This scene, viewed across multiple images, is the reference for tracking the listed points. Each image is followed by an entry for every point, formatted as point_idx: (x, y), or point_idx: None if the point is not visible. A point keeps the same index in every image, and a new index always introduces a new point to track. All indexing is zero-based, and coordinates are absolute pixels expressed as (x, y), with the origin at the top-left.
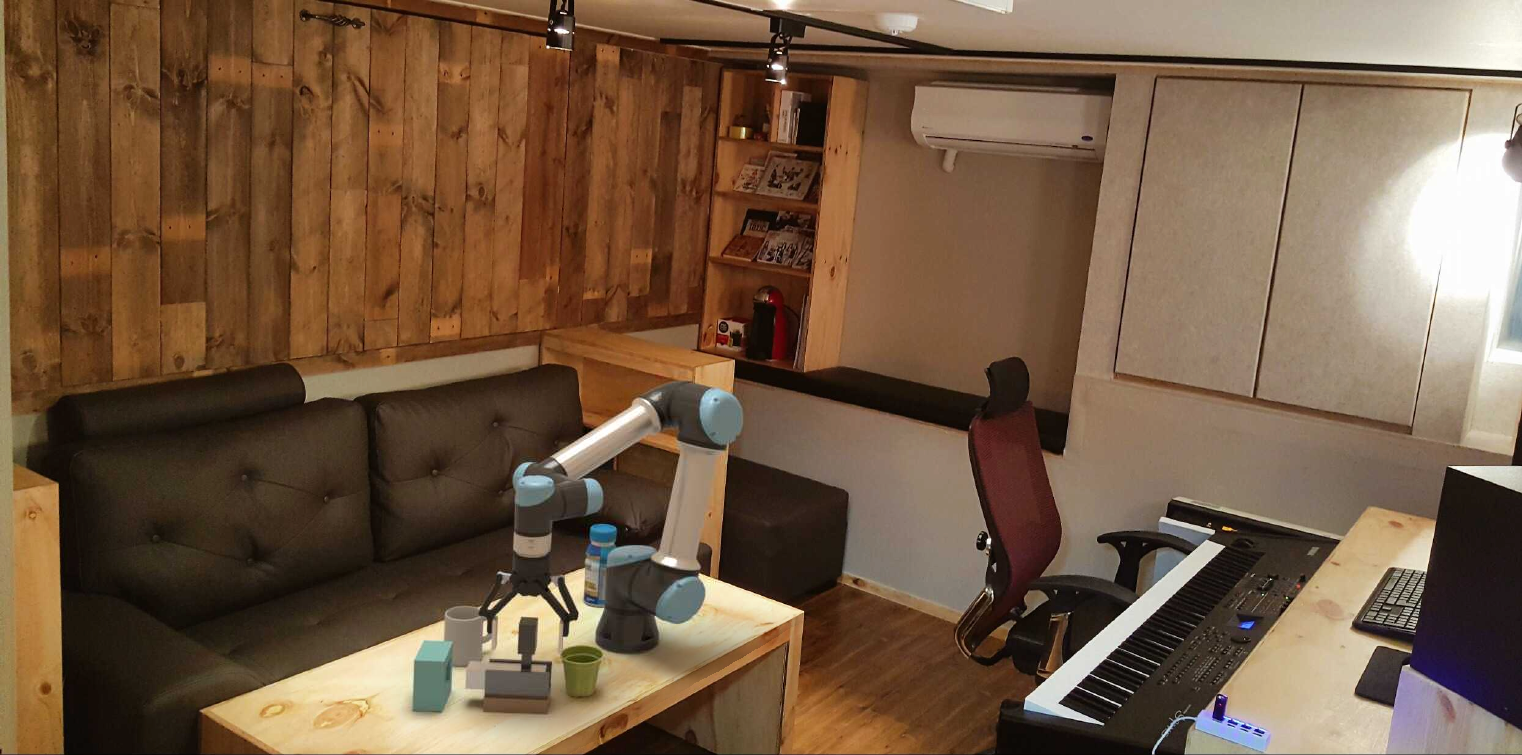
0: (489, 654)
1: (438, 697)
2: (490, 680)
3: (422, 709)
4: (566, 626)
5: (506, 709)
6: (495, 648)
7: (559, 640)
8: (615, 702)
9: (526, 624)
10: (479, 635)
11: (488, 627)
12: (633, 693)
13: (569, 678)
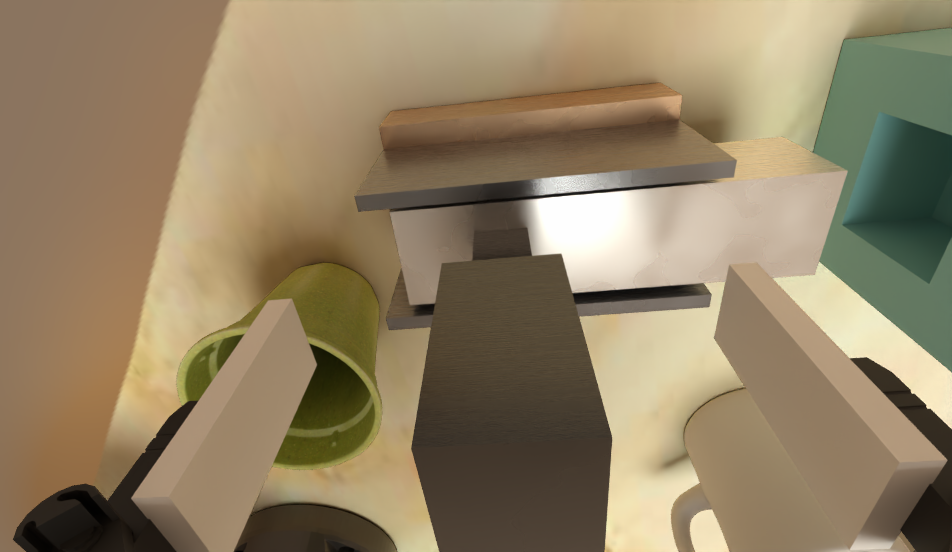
0: (661, 457)
1: (920, 43)
2: (679, 145)
3: (946, 29)
4: (139, 482)
5: (560, 96)
6: (726, 287)
7: (244, 362)
8: (183, 250)
9: (522, 446)
10: (733, 497)
11: (905, 400)
12: (160, 317)
13: (338, 302)
